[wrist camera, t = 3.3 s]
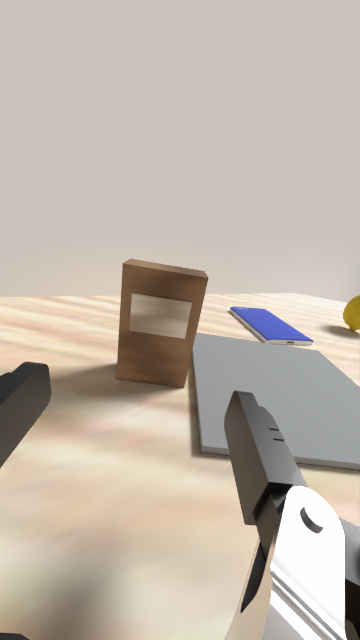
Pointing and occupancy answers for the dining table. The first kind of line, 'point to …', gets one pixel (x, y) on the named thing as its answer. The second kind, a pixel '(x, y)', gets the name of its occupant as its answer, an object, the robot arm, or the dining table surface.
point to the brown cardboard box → (158, 321)
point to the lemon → (353, 313)
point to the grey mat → (279, 397)
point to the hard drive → (269, 327)
